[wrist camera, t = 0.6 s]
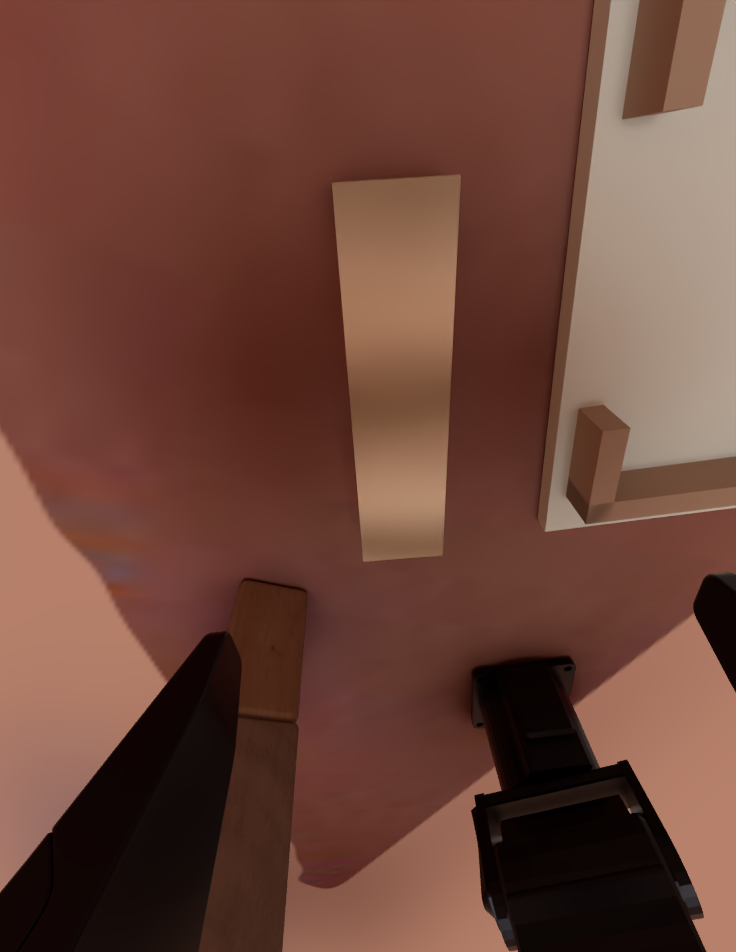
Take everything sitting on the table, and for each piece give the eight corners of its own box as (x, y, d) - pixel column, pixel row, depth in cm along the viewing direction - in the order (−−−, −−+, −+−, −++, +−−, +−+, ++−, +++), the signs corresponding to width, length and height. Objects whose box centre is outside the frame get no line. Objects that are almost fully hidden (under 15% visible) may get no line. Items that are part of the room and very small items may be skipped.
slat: (431, 513, 23) (442, 555, 20) (360, 518, 23) (363, 561, 20) (440, 174, 15) (461, 174, 12) (332, 181, 15) (331, 183, 12)
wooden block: (309, 588, 25) (263, 1236, 10) (267, 698, 30) (196, 1221, 15) (241, 575, 24) (72, 1261, 9) (210, 691, 29) (75, 1235, 14)
